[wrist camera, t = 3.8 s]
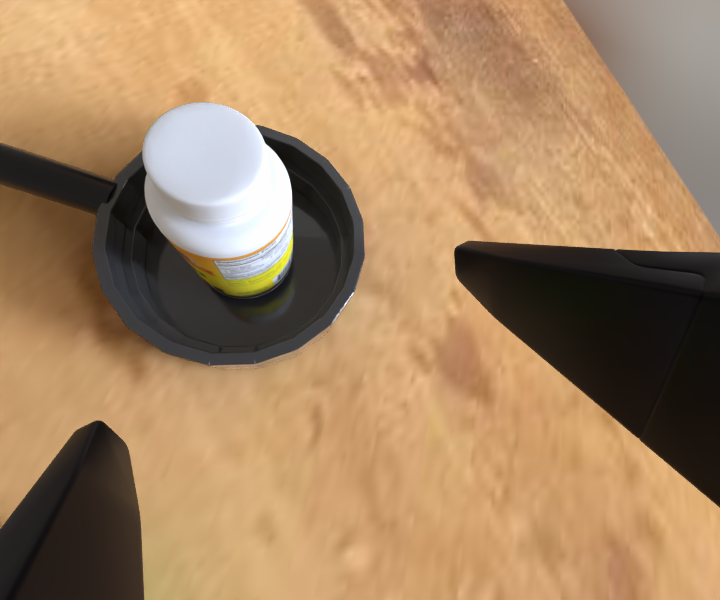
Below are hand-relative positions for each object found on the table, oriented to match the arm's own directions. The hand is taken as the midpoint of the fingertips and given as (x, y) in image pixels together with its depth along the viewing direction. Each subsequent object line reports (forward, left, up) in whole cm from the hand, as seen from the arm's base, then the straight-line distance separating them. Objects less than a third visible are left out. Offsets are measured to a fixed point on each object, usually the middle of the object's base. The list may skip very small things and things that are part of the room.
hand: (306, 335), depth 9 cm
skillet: (+5, -5, -13) cm, 15 cm away
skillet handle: (+16, -5, -11) cm, 20 cm away
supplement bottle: (+5, -5, -13) cm, 15 cm away
